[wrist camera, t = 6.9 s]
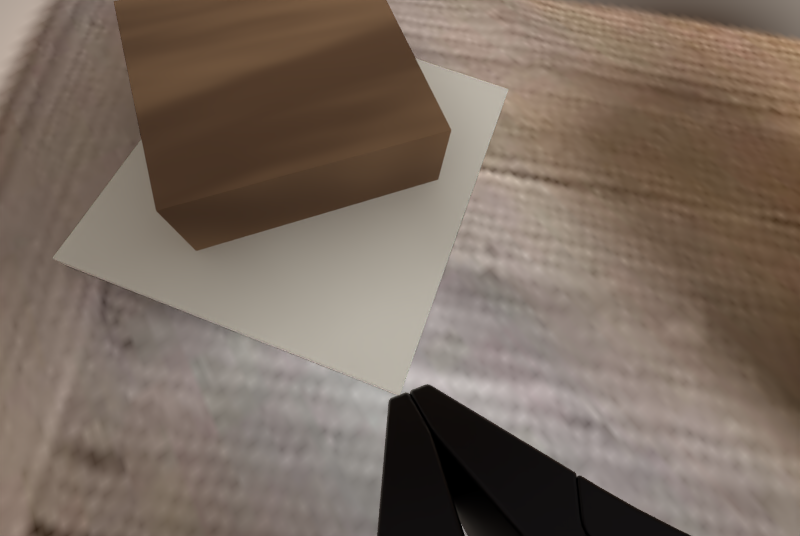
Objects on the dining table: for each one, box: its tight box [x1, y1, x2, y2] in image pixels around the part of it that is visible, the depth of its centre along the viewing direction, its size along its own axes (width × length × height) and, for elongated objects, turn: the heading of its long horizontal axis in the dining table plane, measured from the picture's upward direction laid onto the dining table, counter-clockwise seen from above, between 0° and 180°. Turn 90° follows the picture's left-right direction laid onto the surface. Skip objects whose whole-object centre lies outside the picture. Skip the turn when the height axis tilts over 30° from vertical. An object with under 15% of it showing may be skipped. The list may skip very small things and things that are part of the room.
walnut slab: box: [114, 0, 451, 251], centre depth 16 cm, size 3×10×9 cm
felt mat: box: [52, 59, 508, 395], centre depth 17 cm, size 13×14×1 cm
